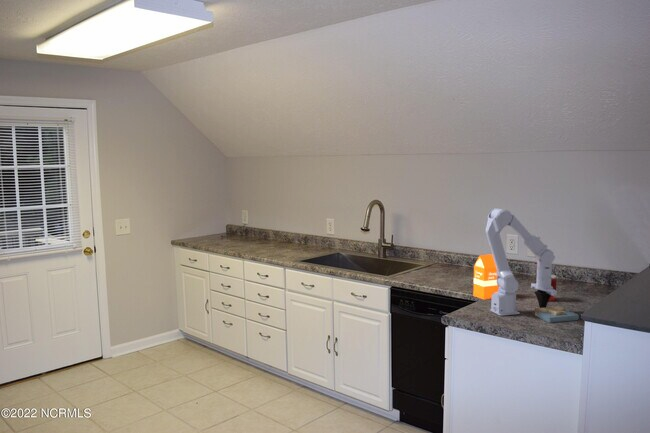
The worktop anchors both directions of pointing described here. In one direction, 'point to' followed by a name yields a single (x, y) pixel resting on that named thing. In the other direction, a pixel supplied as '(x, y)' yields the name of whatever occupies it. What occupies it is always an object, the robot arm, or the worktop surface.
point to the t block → (551, 310)
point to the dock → (552, 318)
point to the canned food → (553, 284)
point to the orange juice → (485, 277)
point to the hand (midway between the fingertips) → (542, 308)
